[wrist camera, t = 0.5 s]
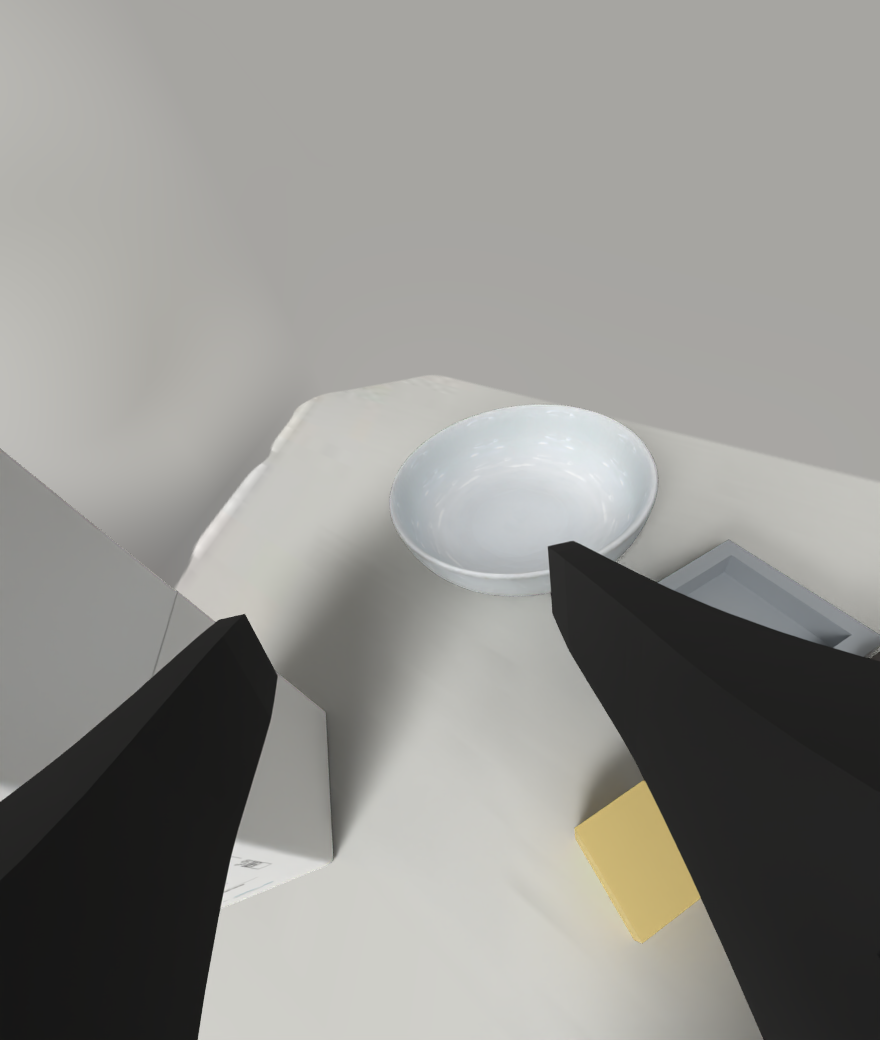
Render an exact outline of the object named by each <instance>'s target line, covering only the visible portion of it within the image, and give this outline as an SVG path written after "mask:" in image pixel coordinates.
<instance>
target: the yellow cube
mask: <svg viewBox="0 0 880 1040" xmlns="http://www.w3.org/2000/svg"><path fill="white" fill-rule="evenodd" d="M575 839H576V840H577V842H578V844H579V845H580V847H581V849H582V851H583V852H584V854H585V856H586V858H587V859H588V861H589V863H590V864H591V866H592V868H593V870H594V871H595V873H596V875H597V877H598V878H599V880H600V882H601V883H602V885H603V887H604V889H605V890H606V892H607V894H608V895H609V897H610V899H611V901H612V902H613V904H614V906H615V908H616V909H617V911H618V913H619V914H620V916H621V918H622V920H623V921H624V923H625V925H626V927H627V928H628V930H629V932H630V933H631V935H632V937H633V939H634V940H635V941H638V942H640V943H643V942H645V941H646V940H647V939H649V938H650V937H651V936H653V935H654V934H655V933H656V932H658V931H659V930H660V929H662V928H663V927H664V926H665V925H667V924H668V923H669V922H671V921H672V920H673V919H675V918H676V917H677V916H678V915H680V914H681V913H682V912H684V911H685V910H686V909H687V908H689V907H690V906H691V905H693V904H694V903H695V902H697V901H698V900H699V899H700V898H701V897H700V895H699V893H698V891H697V888H696V886H695V884H694V882H693V880H692V877H691V875H690V873H689V871H688V869H687V867H686V865H685V862H684V860H683V858H682V856H681V854H680V852H679V850H678V848H677V846H676V844H675V841H674V839H673V837H672V835H671V833H670V831H669V829H668V827H667V825H666V823H665V820H664V818H663V816H662V814H661V812H660V810H659V808H658V806H657V804H656V802H655V800H654V798H653V796H652V794H651V792H650V790H649V788H648V786H647V784H646V782H645V781H644V780H643V781H642V782H640V783H639V784H637V785H636V786H634V787H633V788H631V789H630V790H629V791H627V792H626V793H624V794H623V795H621V796H620V797H619V798H617V799H616V800H614V801H613V802H611V803H610V804H608V805H607V806H606V807H604V808H603V809H601V810H600V811H598V812H597V813H596V814H594V815H593V816H591V817H590V818H588V819H587V820H585V821H584V822H583V823H581V824H580V825H578V826H577V827H575Z"/></svg>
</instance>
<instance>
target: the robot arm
mask: <svg viewBox="0 0 880 1040" xmlns="http://www.w3.org/2000/svg"><path fill="white" fill-rule="evenodd" d="M548 558H549V572H550V585H551V599H552V613H553V616H554V618H555V620H556V623H557V625H558V627H559V629H560V632H561V634H562V636H563V638H564V640H565V643H566V645H567V647H568V649H569V651H570V653H571V655H572V656H573V658H574V660H575V661H576V663H577V665H578V666H579V668H580V670H581V671H582V673H583V675H584V676H585V678H586V680H587V681H588V683H589V684H590V686H591V688H592V689H593V691H594V693H595V694H596V696H597V698H598V699H599V701H600V702H601V704H602V706H603V707H604V709H605V711H606V712H607V714H608V716H609V717H610V719H611V720H612V722H613V724H614V725H615V727H616V729H617V730H618V732H619V734H620V735H621V737H622V738H623V740H624V742H625V744H626V746H627V747H628V749H629V751H630V753H631V754H632V756H633V758H634V760H635V762H636V764H637V766H638V768H639V770H640V772H641V774H642V776H643V778H644V780H645V782H646V784H647V786H648V788H649V790H650V792H651V794H652V796H653V798H654V800H655V802H656V804H657V806H658V808H659V810H660V812H661V814H662V816H663V818H664V820H665V823H666V825H667V827H668V829H669V831H670V833H671V835H672V837H673V839H674V841H675V844H676V846H677V848H678V850H679V852H680V854H681V856H682V858H683V860H684V862H685V865H686V867H687V869H688V871H689V873H690V875H691V877H692V880H693V882H694V884H695V886H696V888H697V891H698V893H699V895H700V897H701V899H702V901H703V904H704V906H705V908H706V910H707V912H708V915H709V917H710V919H711V921H712V923H713V926H714V928H715V930H716V932H717V934H718V937H719V939H720V941H721V943H722V945H723V947H724V950H725V952H726V954H727V957H728V959H729V961H730V963H731V966H732V968H733V970H734V973H735V975H736V977H737V979H738V982H739V984H740V986H741V989H742V991H743V993H744V995H745V998H746V1000H747V1002H748V1005H749V1007H750V1009H751V1012H752V1014H753V1016H754V1018H755V1021H756V1023H757V1025H758V1028H759V1030H760V1032H761V1034H762V1037H763V1039H764V1040H880V661H877V660H873V659H870V658H866V657H862V656H859V655H855V654H852V653H849V652H845V651H842V650H839V649H835V648H832V647H828V646H825V645H822V644H818V643H815V642H812V641H808V640H805V639H802V638H799V637H796V636H793V635H789V634H786V633H783V632H780V631H777V630H774V629H771V628H769V627H766V626H763V625H760V624H757V623H755V622H752V621H749V620H746V619H744V618H741V617H738V616H735V615H732V614H730V613H727V612H725V611H722V610H719V609H717V608H714V607H712V606H709V605H707V604H705V603H702V602H700V601H698V600H695V599H693V598H691V597H688V596H686V595H684V594H681V593H679V592H677V591H674V590H672V589H670V588H668V587H666V586H663V585H661V584H659V583H657V582H655V581H653V580H651V579H649V578H646V577H644V576H642V575H640V574H638V573H636V572H634V571H632V570H630V569H628V568H626V567H624V566H622V565H620V564H618V563H617V562H615V561H613V560H611V559H609V558H607V557H605V556H603V555H601V554H599V553H597V552H595V551H593V550H591V549H589V548H587V547H585V546H583V545H581V544H579V543H577V542H575V541H569V542H565V543H560V544H556V545H551V546H548ZM277 678H278V675H277V674H276V672H275V670H274V668H273V666H272V664H271V662H270V660H269V659H268V657H267V655H266V653H265V651H264V649H263V647H262V645H261V643H260V642H259V640H258V638H257V636H256V634H255V632H254V630H253V628H252V626H251V625H250V623H249V621H248V619H247V617H246V615H245V614H243V615H238V616H234V617H230V618H225V619H221V620H218V621H217V622H215V623H214V624H213V625H211V626H210V627H209V628H208V629H206V630H205V631H204V632H203V633H202V634H200V635H199V636H198V637H197V638H196V639H195V640H193V641H192V642H191V643H190V644H189V645H188V646H187V647H185V648H184V649H183V650H182V651H181V652H180V653H179V654H178V655H176V656H175V657H174V658H173V659H172V660H171V661H170V662H169V663H168V664H166V665H165V666H164V667H163V668H162V669H161V670H160V671H159V672H157V673H156V674H155V675H154V676H153V677H152V678H151V679H150V680H148V681H147V682H146V683H145V684H144V685H143V686H142V687H141V688H140V689H138V690H137V691H136V692H135V693H134V694H133V695H132V696H130V697H129V698H128V699H127V700H126V701H125V702H123V703H122V704H121V705H120V706H119V707H118V708H116V709H115V710H114V711H113V712H112V713H110V714H109V715H108V716H107V717H106V718H105V719H103V720H102V721H101V722H100V723H99V724H98V725H96V726H95V727H94V728H93V729H92V730H90V731H89V732H88V733H87V734H86V735H85V736H83V737H82V738H81V739H80V740H79V741H77V742H76V743H75V744H74V745H73V746H71V747H70V748H69V749H68V750H66V751H65V752H64V753H63V754H61V755H60V756H59V757H58V758H56V759H55V760H54V761H53V762H51V763H50V764H49V765H48V766H46V767H45V768H44V769H43V770H41V771H40V772H39V773H37V774H36V775H35V776H33V777H32V778H31V779H29V780H28V781H27V782H25V783H24V784H23V785H22V786H20V787H19V788H18V789H16V790H15V791H14V792H12V793H11V794H10V795H8V796H7V797H6V798H4V799H3V800H2V801H0V1040H198V1033H199V1027H200V1021H201V1014H202V1008H203V1001H204V995H205V989H206V983H207V978H208V972H209V967H210V961H211V956H212V950H213V945H214V939H215V934H216V928H217V923H218V917H219V913H220V908H221V903H222V898H223V893H224V888H225V884H226V879H227V874H228V869H229V864H230V860H231V855H232V852H233V848H234V844H235V840H236V836H237V832H238V829H239V825H240V822H241V819H242V816H243V812H244V809H245V806H246V802H247V799H248V796H249V792H250V789H251V786H252V782H253V779H254V776H255V772H256V769H257V766H258V763H259V759H260V756H261V752H262V749H263V746H264V742H265V739H266V735H267V732H268V728H269V725H270V721H271V717H272V711H273V705H274V700H275V693H276V686H277Z"/></svg>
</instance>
